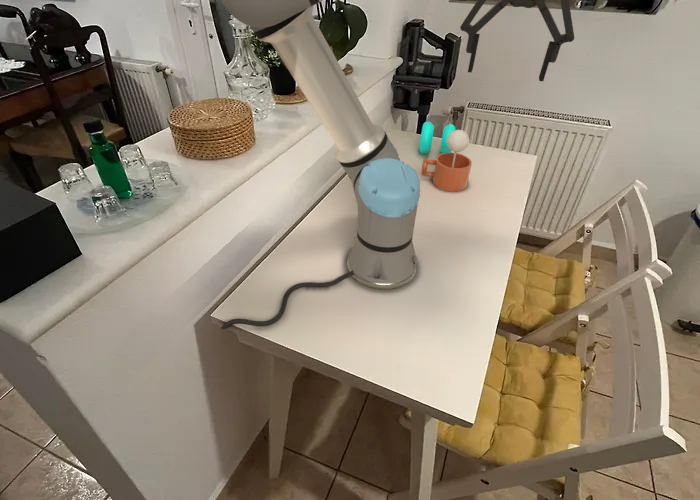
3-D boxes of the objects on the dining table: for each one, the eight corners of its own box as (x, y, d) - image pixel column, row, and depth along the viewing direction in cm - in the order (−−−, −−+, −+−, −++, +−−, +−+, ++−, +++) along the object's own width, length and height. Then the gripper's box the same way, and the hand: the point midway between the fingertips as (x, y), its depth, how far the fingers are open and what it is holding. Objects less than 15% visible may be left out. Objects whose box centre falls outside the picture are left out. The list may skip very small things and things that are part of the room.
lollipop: (459, 175, 126) (470, 126, 116) (461, 185, 121) (472, 136, 112) (438, 174, 126) (447, 125, 117) (439, 184, 122) (449, 134, 112)
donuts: (449, 163, 133) (455, 132, 127) (417, 158, 135) (421, 128, 129) (451, 148, 141) (456, 119, 134) (420, 145, 142) (424, 115, 136)
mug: (467, 176, 127) (471, 155, 123) (466, 193, 120) (471, 171, 115) (422, 170, 129) (425, 149, 125) (418, 186, 122) (421, 164, 117)
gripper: (616, -54, 71) (570, 77, 85) (464, -63, 77) (445, 61, 91) (623, -51, 66) (573, 89, 79) (459, -60, 72) (439, 72, 85)
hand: (504, 74), depth 85 cm, fingers open, 13 cm apart
